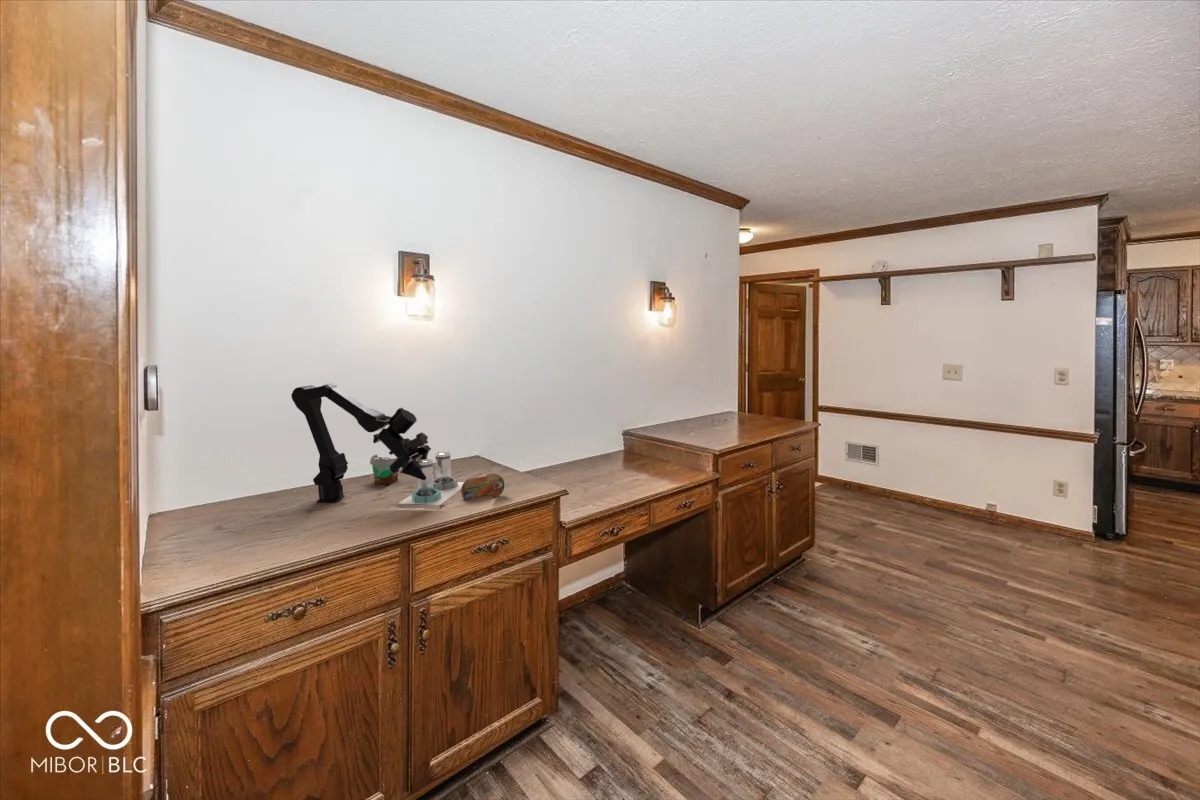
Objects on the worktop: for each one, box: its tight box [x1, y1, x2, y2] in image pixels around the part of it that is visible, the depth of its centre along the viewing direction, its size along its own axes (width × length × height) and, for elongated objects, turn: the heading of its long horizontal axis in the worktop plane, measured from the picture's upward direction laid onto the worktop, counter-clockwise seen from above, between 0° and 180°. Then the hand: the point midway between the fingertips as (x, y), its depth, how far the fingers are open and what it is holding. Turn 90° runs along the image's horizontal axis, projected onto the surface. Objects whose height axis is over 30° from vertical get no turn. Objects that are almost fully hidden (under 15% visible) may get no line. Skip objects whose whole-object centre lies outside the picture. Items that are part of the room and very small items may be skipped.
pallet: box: [397, 476, 465, 510], centre depth 183 cm, size 14×25×4 cm, turn 173°
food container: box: [369, 454, 399, 486], centre depth 197 cm, size 12×6×10 cm, turn 62°
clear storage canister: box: [416, 458, 434, 496], centre depth 175 cm, size 5×5×12 cm
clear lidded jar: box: [435, 451, 452, 484], centre depth 189 cm, size 5×5×12 cm
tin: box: [460, 473, 505, 502], centre depth 179 cm, size 15×3×8 cm, turn 129°
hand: (429, 477), depth 175 cm, fingers closed on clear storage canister, 5 cm apart
